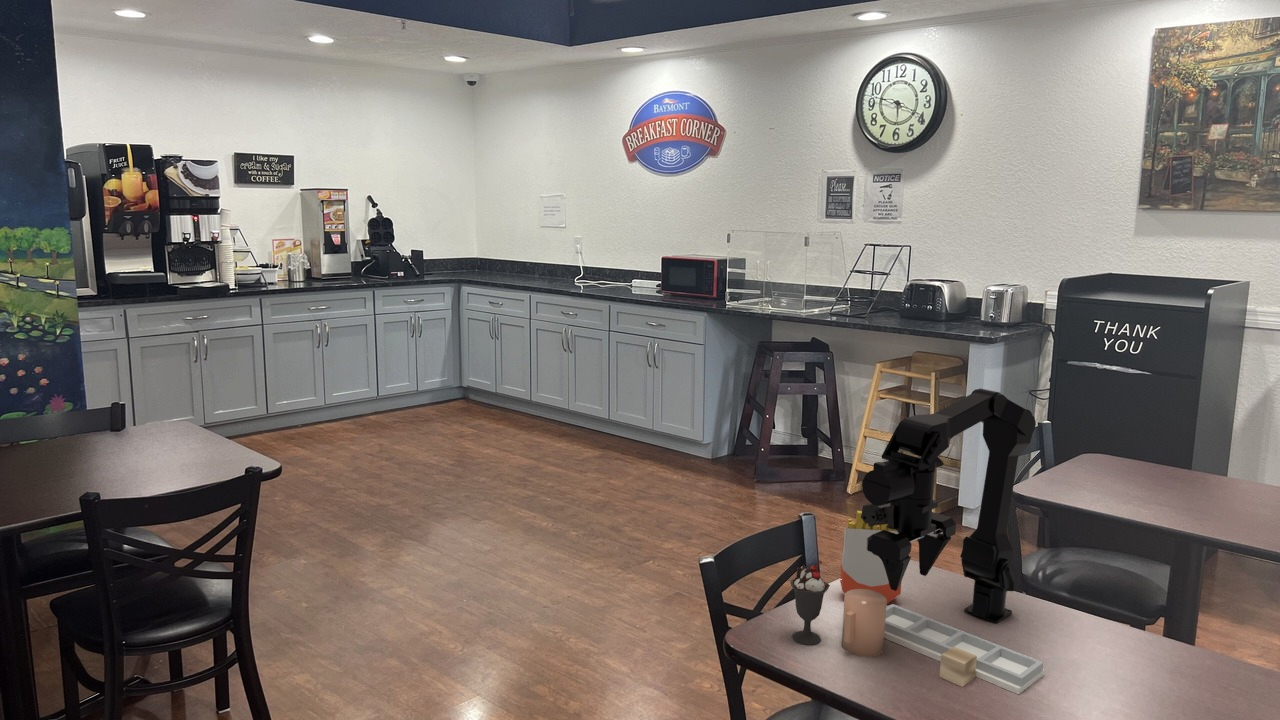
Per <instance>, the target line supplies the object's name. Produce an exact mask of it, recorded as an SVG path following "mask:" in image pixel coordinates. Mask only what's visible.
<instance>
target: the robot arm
mask: <svg viewBox="0 0 1280 720" xmlns="http://www.w3.org/2000/svg"><path fill="white" fill-rule="evenodd" d="M979 423H982V424H983V425H982V437H983V438H982V439H983V440H984V443H985V445H986V446H987V449H988V457H987V465H986V471H985V479H984V483H983V489H982V496H981V503H980V509H979V514H978V521H977V527H976V529H975V530H974V531H973V532H972V533H971V534H970V535H969V536H965V537H964V539H963V540H962V549H961V553H960V555H959V557H960V558H961V559H960V560H961V565H962V571H963V577H965V578H968V579H970V580H973V583H974V584H973V591H972V603H971V604H970V605H968V606H966V607H964V608H963V609H964V610H963V611H964V612H965V613H967V614H969V615H973V616H975V617H978V618H981V619H983V620H986V621H988V622H992V623H995V624H996V623H999V622H1001V621H1003V620H1004V619H1006V618H1007V617H1010V615H1012V614H1013V610H1011V609H1009V608H1006V600H1007V592H1016V588H1018V587H1019V585H1020V582H1021V577H1022V576H1021V575H1022V574H1020V572H1019V571H1018V569H1017V568H1016V566H1015V565H1014V563H1013V551H1014V549H1013V547H1012V545H1011V543H1010V539H1009V538H1008V534H1007V527H1008V523H1009V522H1008V521H1009V517H1010V516H1009V515H1010V509H1011V503H1012V497H1013V491H1014V484H1015V479H1016V474H1017V473H1016V472H1017V467H1018V460H1019V456H1020V455H1021V454H1022V453H1023V452H1024V451H1025V450H1026V449H1027V447H1029V445H1030V444H1031V441H1032V437H1033V433H1034V431H1035V429H1036V425H1037V422H1036V418H1035V416H1034V415H1033V413H1032V411H1031V410H1030V409H1026V408H1025V407H1023V406H1020V405H1019V404H1017V403H1016V402H1013V401H1011V400H1010V399H1008V398H1007V396H1005V395H1004V394H1002V393H1001V392H1000V391H995V390H990V389H985V388H981V387H980V388H976V389H974V390H972V392H971V394H969V395H967V396H964V397H963V398H961V399H959V400H957V401H956V402H953V403H951V404H949V405H948V406H946V407H944V408H942V409H940V410H938V411H936V412H934V413H929V414H928V413H927V414H915V415H912V416H909V417H904V418H903V419H901V421H899V423H898V424H897V426H896V427H895V429H894V432H893V433H892V435H891V437H890V440H889V441H888V443H887V445H886V446H885V448H884V451H883V453H882V454H881V459H883V460H884V461H878V462H874V463H873V467H872V468H873V469H872V470H869V471H868V472H867V473H866V474H865V476H864V477H863V479H862V481H861V482H862V483H861V489H862V493H863V495H864V497H865V498H866V500H867V501H868V502H869V503H866V504H863V505H862V508H861V511H862V515H861V519H863V522H864V523H866V524H867V523H868V526H869V527H873V526H874V525H878V526H880V525H883V524H887V528H889V529H892V530H894V529H896V530H897V532H898V534H895V533H892V532H889V531H886V530H882V531H880V532H877V533H875V534H873V535H871V536H870V537H868V538H867V548H866V549H867V551H870V552H872V553H873V554H874V555H877V556H878V557H879V558H880V559H881V560H882V562H883V565H884V567H885V571H886V574H887V578H888V581H889V585H890V588H891V589H892V590H894V591H897V590H898V588H899V586H900V583H901V584H902V582H901V581H903V578H904V576H905V573H906V571H907V569H908V565H909V563H910V562H911V558H912V556H911V554H910V553H911V551H912V543H913V542H915V541H917V542H918V565H919V566H918V567H919V568H918V569H919V574H920V575H921V576H924V577H926V576H928V574H929V573H930V571H931V569H932V567H933V566H934V564H935V563H936V561H937V560H938V558H939V556H940V555H941V553H942V552H943V550H944V549H945V547H946V546H947V544H948V543H949V541H951V539H952V537H953V536H954V535H956V532H957V531H956V530H957V529H956V528H957V523H956V522H955V520H954V519H953V517H951V516H947V515H944V514H940V513H938V512H934V511H933V510H934V509H937V508H938V505H939V501H938V500H935V499H934V496H935V495H934V493H935V481H936V469H937V468H939V467H943V466H944V464H945V463H944V461H943V460H942V459H940V458H939V456H940V455H942V453H944V452H945V451H946V450H948V449H949V448H950V441H951V439H953V438H954V437H955V436H957V435H959V434H961V433H963V432H965V431H967V430H968V429H970V428H971V427H974V426H975V425H977V424H979ZM899 451H901V452H899ZM903 452H905V453H903ZM907 453H908V454H907ZM910 454H911V455H910ZM914 455H915V456H914ZM885 460H886V461H885Z"/></svg>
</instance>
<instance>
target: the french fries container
mask: <svg viewBox="0 0 1280 720" xmlns="http://www.w3.org/2000/svg"><path fill="white" fill-rule="evenodd" d="M861 515H862V510H856V515H855V516H856V518H855V522H854V521H853V519H852V518H848V519H847V527H846V525H844V534H843V548H842V549H843V550H842V555H841V562H840V574H839V575H840V578H839V582H840V586H841V590H842V592H844V594H845V593H846V592H847V591H849V590H853V589H868V590H873V591H876V592H878V593H881V594H882V595H884V596H885V597H886V599H887V604H889V603H891V601H893V600H894V599H895V598H897V597H898V596H900V595H901V593H902V592H901V591H902V583H903V582H902V581H903V580H902V581H901V583H900V586H899V588H898V590H897V591H894V590H892V589H891V588H890V585H889V581H888V578H887V574H886V571H885V567H884V565H883V562H882V560H881V559H880V558H879V557H878V556H877V555H874V554H873V553H872V552H870V551H867V549H866V548H867V538H868V537H870V536H871V535H873V534H875V533H877V532H880V531H882V530H886V531H889V532H892V533H895V534H898V532H897V530H896V529H894V530H892V529H889V528H887V524H883V525H874V526H873V527H869V526H868V523H867V524H866V523H864V522H863V519H861ZM840 579H842V580H840Z"/></svg>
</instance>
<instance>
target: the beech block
mask: <svg viewBox="0 0 1280 720" xmlns="http://www.w3.org/2000/svg"><path fill="white" fill-rule="evenodd" d="M976 660H977V656H976V655H974V654H971V653H969V652H966V651H964V650H961V649H959V648H956V647H952V648H951V649H949V650H948V651H946V652H944V653H943V654H941V662H940V666H939V678H942V679H944V680H946V681H948V682H950V683H953V684H956V685H958V686H959V687H964V686H965V685H967V684H968V683H970V682H972V681H973V680H974V679H975V678H976V676H975V671H976Z"/></svg>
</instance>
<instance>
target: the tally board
mask: <svg viewBox="0 0 1280 720" xmlns="http://www.w3.org/2000/svg"><path fill="white" fill-rule="evenodd" d="M885 639H886V640H888V641H890V642H892V643H895V644H898V645H900V646H903V647H905V648H906V649H909V650H912V651H914V652H916V653H919V654H920V655H921V654H922V655H924V656H925V657H928V658H931V659H933V660H935V661H937V662H939V663H941V654H943V653H944V652H946V651H948V650H949V649H951V648H952V647H956V648H959V649H961V650H964V651H966V652H969V653H971V654H974V655H976V656H977V660H976V671H975V678H978V679H981V680H983V681H985V682H988V683H991V684H993V685H995V686H996V687H997V686H998V687H999V688H1002V689H1004V690H1007V691H1009V692H1011V693H1013V694H1016V695H1020V694H1021V693H1022V692H1024V691H1025V690H1026V689H1027V688H1029V687H1031V686H1032V685H1033V684H1034V683H1036V682H1037V681H1039V680H1040V679H1041V678H1042V677H1044V675H1045V669H1044V661H1041V660H1038V659H1035V658H1033V657H1030V656H1028V655H1025V654H1023V653H1021V652H1018V651H1015V650H1013V649H1010V648H1007V647H1005V646H1003V645H1000V644H998V643H994V642H992V641H990V640H986V639H984V638H982V637H979V636H976V635H974V634H971V633H968V632H966V631H963V630H962V629H959V628H955V627H954V626H950V625H948V624H946V623H943V622H940V621H937V620H935V619H932V618H930V617H928V616H925V615H922V614H920V613H917V612H914V611H913V610H909V609H907V608H904V607H901V606H900V605H896V604H893V603H891V604H890V605H886V619H885V633H884V640H885Z"/></svg>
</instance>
